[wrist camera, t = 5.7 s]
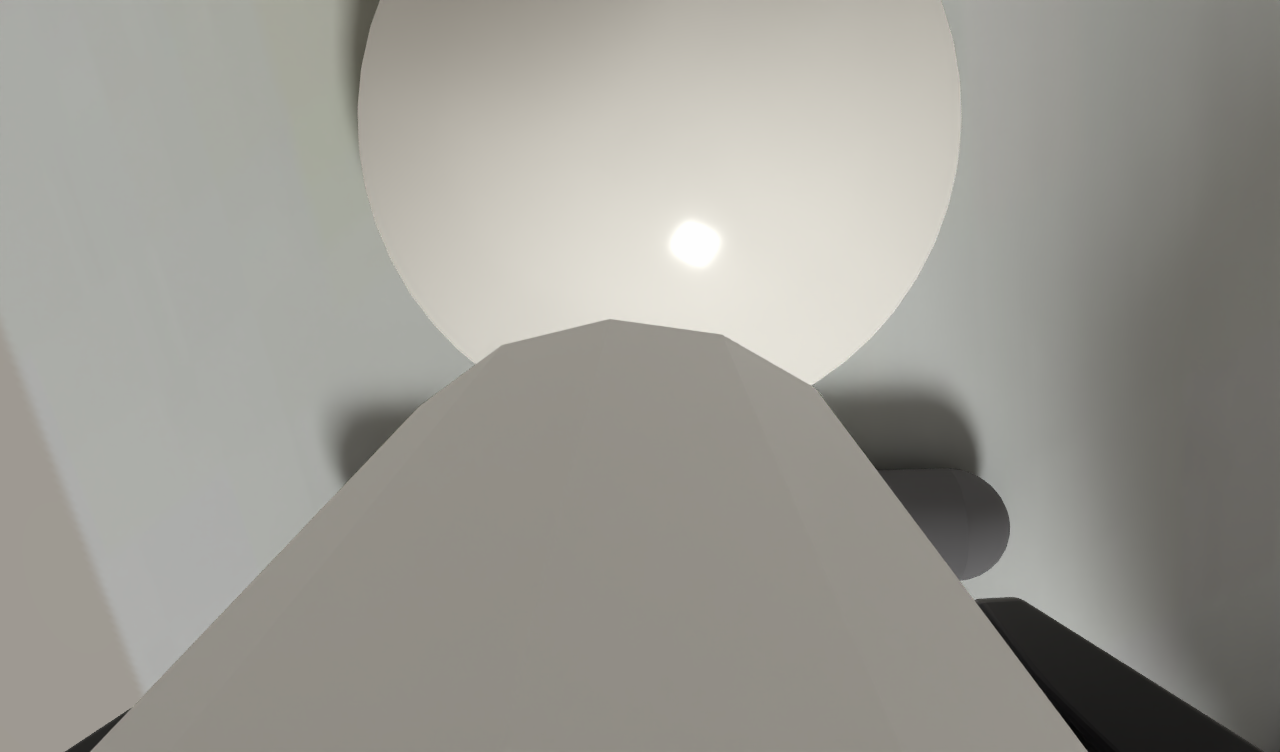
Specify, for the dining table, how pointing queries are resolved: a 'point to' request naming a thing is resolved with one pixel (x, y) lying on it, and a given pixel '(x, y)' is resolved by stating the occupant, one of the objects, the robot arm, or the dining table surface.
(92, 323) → the dining table surface
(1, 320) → the dining table surface
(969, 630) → the shot glass
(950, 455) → the dining table surface
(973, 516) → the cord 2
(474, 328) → the saucer
